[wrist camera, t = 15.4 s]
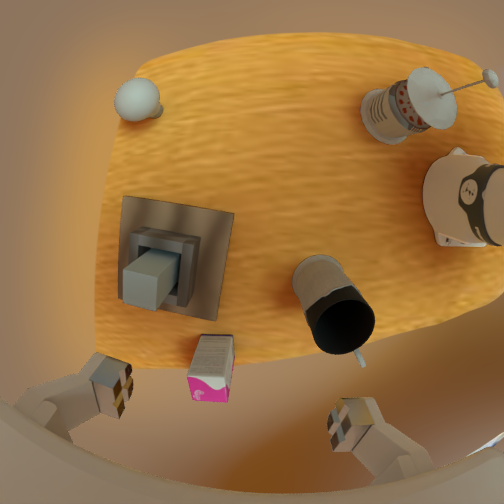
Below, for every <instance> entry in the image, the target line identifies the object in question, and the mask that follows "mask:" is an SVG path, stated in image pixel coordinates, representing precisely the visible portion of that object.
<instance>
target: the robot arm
mask: <svg viewBox="0 0 504 504" xmlns="http://www.w3.org/2000/svg"><path fill="white" fill-rule="evenodd" d="M423 205H424V209H425V213H426V216H427V218H428V220H429V222H430V224H431V225H432V227H433V229H434V233H435V238H436V242H437V244H438V245H440V246H459V247H485V246H486V245H487V244H489V245H494V246H504V166H503V165H499V164H490V163H489V162H488V161H486V160H485V159H484V157H482V156H477V155H468V154H467V153H466V152H464V151H463V150H462V149H461V148H458V147H455V148H453V149H452V151H451V152H450V153H449V154H448V155H447V156H445V157H442V158H439V159H438V160H436V161H435V162H434V163H433V164H432V165H431V167H430V168H429V170H428V172H427V174H426V177H425V180H424V185H423ZM446 239H447V240H446ZM131 373H132V365H131V364H129V363H126V362H123V361H121V360H118V359H115V358H112V357H110V356H106V355H104V354H101V353H99V352H96V353H95V354H93V356H92V357H91V358H90V359H89V361H88V362H87V363H86V364H85V365H84V367H83V368H82V369H81V371H80V372H79V373H78V374H77V375H76V374H72V375H68V376H65V377H62V378H59V379H56V380H53V381H50V382H46V383H43V384H40V385H37V386H33V387H30V388H28V389H27V390H26V391H25V392H24V393H23V395H22V396H21V397H20V398H19V399H18V400H17V402H16V403H15V404H14V405H13V406H11V405H10V404H8V403H7V402H6V401H5V400H3V399H2V398H1V397H0V504H504V452H502V451H500V450H498V449H496V448H494V447H486V448H484V449H482V450H480V451H478V452H476V453H474V454H472V455H469V456H467V457H465V458H463V459H460V460H458V461H456V462H453V463H450V464H448V465H446V466H443V467H440V468H437V469H435V467H434V465H433V463H432V461H431V458H430V457H429V454H428V452H427V451H426V449H425V448H423V447H422V446H420V445H419V444H417V443H416V442H414V441H413V440H411V439H410V438H409V437H407V436H406V435H404V434H403V433H401V432H400V431H399V430H397V429H396V428H394V427H393V426H392V425H390V424H386V423H385V421H384V419H383V417H382V414H381V412H380V410H379V408H378V406H377V404H376V401H375V399H374V398H372V397H367V398H339V399H338V400H337V401H336V403H335V406H336V408H335V409H334V410H332V411H331V412H330V414H329V416H328V420H327V429H328V432H329V433H330V434H331V435H332V438H331V439H330V442H331V445H332V449H333V452H344V451H352V453H353V454H354V455H355V456H356V457H357V458H358V460H359V461H360V462H361V463H362V464H363V465H364V466H365V467H366V468H367V469H368V470H369V471H370V472H371V473H372V474H373V475H374V476H375V477H376V479H375V480H374V481H373V482H372V483H371V484H370V485H369V486H368V487H364V488H358V489H352V490H344V491H335V492H324V493H309V494H264V493H248V492H238V491H229V490H221V489H214V488H208V487H202V486H196V485H192V484H187V483H182V482H178V481H174V480H170V479H166V478H162V477H158V476H154V475H151V474H148V473H145V472H141V471H138V470H135V469H132V468H130V467H127V466H124V465H121V464H118V463H116V462H113V461H111V460H108V459H106V458H103V457H101V456H99V455H96V454H94V453H92V452H90V451H87V450H85V449H83V448H81V447H79V446H77V445H75V444H74V443H73V441H72V439H71V437H70V435H69V433H68V431H69V430H71V429H73V428H75V427H77V426H79V425H80V424H82V423H84V422H86V421H88V420H89V419H91V418H93V417H95V416H96V415H98V414H99V413H103V414H106V415H108V416H111V417H114V418H117V419H120V417H121V415H122V413H123V411H124V409H125V405H124V402H126V401H128V400H129V399H130V397H131V395H132V391H133V379H132V378H131V376H130V375H131Z"/></svg>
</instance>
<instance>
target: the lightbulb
mask: <svg viewBox="0 0 504 504" xmlns="http://www.w3.org/2000/svg"><path fill="white" fill-rule="evenodd" d="M159 99H160V95H159V91H158V88H157V86H156V85H155V84H154V83H153V82H152V81H150V80H148V79H145V78H134V79H131V80H129V81H127V82H126V83H124V84H123V85H122V86H121V87H120V88H119V89H118V91H117V93H116V96H115V100H114V105H115V109H116V111H117V113H118V114H119V116H120V117H122V118H123V119H125V120H127V121H132V122H134V121H141V120H144V119H146V118H150V117H151V118H157V117H159V116H160V115H161V114H162V112H163V107H162V105H161V104H160V102H159Z"/></svg>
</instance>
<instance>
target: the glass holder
mask: <svg viewBox="0 0 504 504" xmlns="http://www.w3.org/2000/svg"><path fill="white" fill-rule="evenodd" d="M292 287H293V290H294V292H295V294H296V296H297V297H298V298H299V299H300V302H301V305H302V308H303V312H304V315H305V318H306V321H307V323H308V325H309V327H310V328H311V331H312V334H313V338H314V340H315V343H316V344H317V346H318V347H319V348H320V349H321V350H323V351H324V352H326V353H330V354H335V355H336V354H338V355H339V354H346V353H349V352H352V351H354V353H355V355H356V357H357V359H358V361H359V363H360V365H361V367H362V368H363V367H365V366H366V363H365V361H364V359H363V357H362V355H361V353H360V351H359V349H358V348H359V347H361V346H362V345H363V344H364V343H365V342H366V341H367V340H368V338H369V337H370V335H371V334H372V331H373V329H374V325H375V316H374V312H373V310H372V309H371V307H370V306H369V305H368V303H367V302H366V301H365V300H364V298H363V297H362V295H361V293H360V291H359V290H358V289H357V288H356V287H355V285H354V284H353V283H352V282H351V281H350V279H349V278H348V277H347V276H346V275H345V274H344V271H343V269H342V267H341V265H340V263H339V262H338V261H337V260H335V259H334V258H332V257H330V256H327V255H314V256H311V257H309V258H307V259H305V260H304V261H302V262H301V263H300V264H299V265H298V267H297V268H296V270H295V272H294V274H293V278H292Z"/></svg>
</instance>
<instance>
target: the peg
mask: <svg viewBox="0 0 504 504" xmlns="http://www.w3.org/2000/svg"><path fill="white" fill-rule="evenodd" d="M181 255H182V254H181V253H176V252H171V251H166V250H161V249H156V248H151V249H150V250H149V251H147V252H146V253H144V254H143V255H142V256H140V257H139V258H138V259H136V260H135V261H134V262H132V263H131V264H129V265H128V266H127V267H125V268H124V269H123V303H125V304H129V305H133V306H136V307H140V308H144V309H148V310H151V311H155V312H156V310H157V309H158V308H159V306H160V305H161V303H162V302H163V301H164V299H165V298H166V296H167V295H168V294H169V292H170V291H171V290H172V288H173V287H174V285H175V284H176V283H177V281H178V280H179V272H180V263H181Z"/></svg>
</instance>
